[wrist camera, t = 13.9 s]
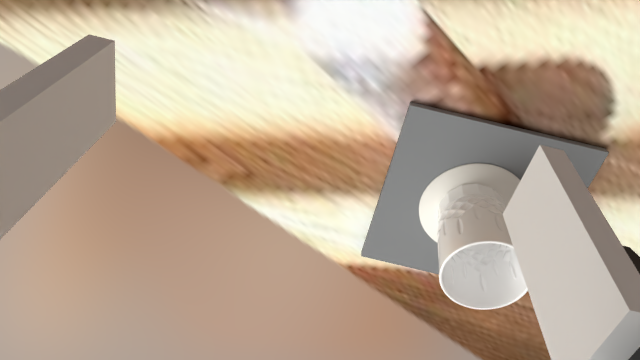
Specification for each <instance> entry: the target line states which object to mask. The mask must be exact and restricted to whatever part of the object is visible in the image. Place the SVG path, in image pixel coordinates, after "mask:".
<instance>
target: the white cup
mask: <svg viewBox="0 0 640 360" xmlns="http://www.w3.org/2000/svg"><path fill="white" fill-rule="evenodd" d="M505 209H506V205H505V202H504V200H503V197H502V196H501V195H500V194H499V193H498V192H496V191H495V190H494V189H493V188H492V187H488V186H485V185H481V184H478V183H476V184H466V185H461V186H459V187H457V188H455V189H453V190H451V191H449V192H448V193H447V194H446V195H445V196H444V198H443V199H442V200H441V201H440V203H439V209H438V214H437V216H438V226H437V235H438V264H439V281H440V285H441V287H442V289H443V291H444V293H445V294H446V295H447V296H448V297H449V298H450V299H451V300H453V301H454V302H456V303H458V304H460V305H462V306H465V307H469V308H473V309H495V308H500V307H504V306H506V305H509V304H511V303H513V302H515V301H517V300H518V299H520V298H521V297H522V296H523V295H524V294H525V293H526V292H527V291H528V289H527V286H526V283H525V280H524V277H523V274H522V271H521V268H520V265H519V262H518V259H517V256H516V253H515V250H514V247H513V244H512V241H511V238H510V235H509V232H508V229H507V226H506V223H505V220H504V217H503V213H504V211H505Z"/></svg>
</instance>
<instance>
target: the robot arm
mask: <svg viewBox="0 0 640 360" xmlns="http://www.w3.org/2000/svg"><path fill="white" fill-rule="evenodd" d="M115 122H116V99H115V41H113V40H109V39H105V38H101V37H97V36H93V35H88V36H86V37H84V38H83V39H81V40H80V41H78V42H76V43H75V44H73V45H72V46H70V47H68V48H67V49H65V50H64V51H62V52H60V53H59V54H57V55H55V56H54V57H52V58H51V59H49V60H47V61H46V62H44V63H43V64H41V65H39V66H38V67H36V68H35V69H33V70H31V71H30V72H28V73H27V74H25V75H24V76H22V77H20V78H19V79H17V80H16V81H14V82H12V83H11V84H9V85H8V86H6V87H4V88H3V89H1V90H0V239H1V238H2V237H3V236H4V235H5V234H6V233H7V232H8V231H9V230H10V229H11V228H12V227H13V226H14V225H15V224H16V223H17V222H18V221H19V220H20V219H21V218H22V217H23V216H24V215H25V214H26V213H27V212H28V210H30V209H31V208H32V207H33V206H34V205H35V203H37V202H38V201H39V199H41V198H42V197H43V195H44V194H45V193H46V192H47V191H48V190H49V189H50V188H51V187H52V186H53V185H54V184H55V183H56V182H57V181H58V180H59V179H60V178H61V177H62V176H63V175H64V174H65V173H66V172H67V171H68V170H69V169H70V168H71V167H72V166H73V165H74V164H75V163H76V162H77V161H78V160H79V159H80V158H81V157H82V156H83V155H84V154H85V153H86V152H87V151H88V150H89V149H90V148H91V147H92V146H93V145H94V144H95V143H96V142H97V141H98V140H99V139H100V138H101V136H102V135H104V134H105V132H106V131H107V130H108V129H109V128H110V127H111V126H112V125H113V124H114V123H115ZM503 217H504V220H505V223H506V226H507V229H508V232H509V235H510V238H511V241H512V244H513V247H514V250H515V253H516V256H517V259H518V262H519V265H520V268H521V271H522V274H523V277H524V280H525V283H526V286H527V289H528V292H529V295H530V298H531V301H532V304H533V307H534V310H535V313H536V316H537V319H538V322H539V324H540V327H541V330H542V333H543V336H544V339H545V342H546V345H547V348H548V351H549V354H550V357H551V360H640V257H639V256H638V255H637V254H636V253H635V252H634V251H633V250H632V249H631V248H629V247H626V246H622V245H621V243H620V241H619V240H618V238H617V236H616V235H615V233H614V231H613V230H612V228H611V227H610V225H609V223H608V222H607V220H606V218H605V217H604V215H603V214H602V212H601V210H600V209H599V207H598V205H597V204H596V202H595V200H594V199H593V197H592V196H591V194H590V192H589V191H588V189H587V187H586V186H585V184H584V183H583V181H582V179H581V178H580V176H579V174H578V173H577V171H576V169H575V168H574V166H573V165H572V163H571V161H570V160H569V158H568V156H567V155H566V153H565V152H564V150H560V149H555V148H551V147H547V146H543V145H539V147H538V149H537V151H536V153H535V155H534V156H533V158H532V160H531V162H530V164H529V166H528V168H527V170H526V171H525V173H524V175H523V177H522V179H521V181H520V183H519V185H518V186H517V188H516V190H515V192H514V194H513V196H512V198H511V200H510V201H509V203H508V205H507V207H506V209H505V211H504V213H503Z"/></svg>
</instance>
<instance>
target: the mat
mask: <svg viewBox="0 0 640 360" xmlns="http://www.w3.org/2000/svg"><path fill="white" fill-rule="evenodd" d="M539 145H543V146H547V147H551V148H555V149H560V150H564V152H565V153H566V155H567V156H568V158H569V160H570V161H571V163H572V165H573V166H574V168H575V169H576V171H577V173H578V174H579V176H580V178H581V179H582V181H583V183H584V184H585V186H586V187H587V188H588V187H589V185H590V183H591V182H592V180H593V178H594V177H595V175H596V173H597V172H598V170H599V168H600V167H601V165H602V163H603V162H604V160H605V158H606V157H607V155H608V153H609V152H608V151H607V150H606V149H605V148H601V147H597V146H593V145H588V144H584V143H580V142H576V141H572V140H567V139H563V138H559V137H555V136H551V135H547V134H542V133H538V132H534V131H530V130H526V129H521V128H517V127H513V126H509V125H505V124H501V123H496V122H492V121H488V120H484V119H480V118H475V117H471V116H467V115H463V114H459V113H455V112H450V111H446V110H442V109H438V108H434V107H429V106H425V105H421V104H417V103H413V102H410V105H409V108H408V111H407V114H406V117H405V120H404V123H403V126H402V129H401V132H400V135H399V138H398V142H397V145H396V148H395V151H394V154H393V157H392V160H391V163H390V166H389V169H388V172H387V175H386V178H385V181H384V184H383V187H382V191H381V194H380V197H379V200H378V203H377V206H376V209H375V212H374V215H373V218H372V221H371V224H370V227H369V230H368V233H367V237H366V240H365V243H364V246H363V249H362V253H361V256H364V257H368V258H372V259H376V260H380V261H385V262H389V263H393V264H397V265H401V266H406V267H410V268H414V269H418V270H423V271H427V272H431V273H435V274H439V264H438V235H437V226H438V216H437V214H438V209H439V203H440V201H441V200H442V199H443V198H444V196H445V195H446V194H447V193H448V192H449V191H451V190H453V189H455V188H457V187H459V186H461V185H466V184H476V183H478V184H481V185H485V186H488V187H492V188H493V189H494V190H495V191H496V192H498V193H499V194H500V195H501V196H502V197H503V200H504V202H505V205H506V207H507V205H508V203H509V201H510V200H511V198H512V196H513V194H514V192H515V190H516V188H517V186H518V185H519V183H520V181H521V179H522V177H523V175H524V173H525V171H526V170H527V168H528V166H529V164H530V162H531V160H532V158H533V156H534V155H535V153H536V151H537V149H538V147H539Z"/></svg>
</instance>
